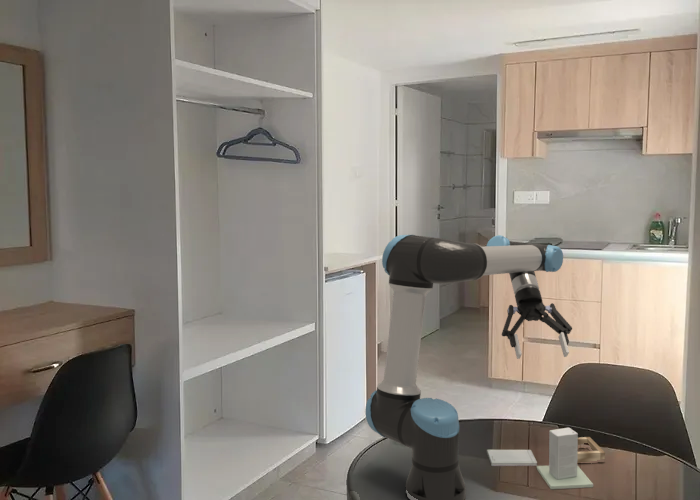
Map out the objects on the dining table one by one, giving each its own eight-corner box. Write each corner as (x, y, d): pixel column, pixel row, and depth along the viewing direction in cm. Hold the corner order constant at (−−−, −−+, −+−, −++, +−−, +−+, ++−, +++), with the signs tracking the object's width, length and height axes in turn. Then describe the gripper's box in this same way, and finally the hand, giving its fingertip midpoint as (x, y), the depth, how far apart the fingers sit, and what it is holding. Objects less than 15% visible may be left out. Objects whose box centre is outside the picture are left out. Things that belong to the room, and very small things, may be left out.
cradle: (568, 464, 180) (569, 454, 180) (555, 448, 190) (555, 438, 190) (604, 462, 181) (604, 452, 180) (589, 446, 191) (589, 436, 190)
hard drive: (491, 462, 181) (537, 461, 180) (486, 448, 189) (530, 448, 188) (491, 467, 181) (537, 467, 180) (486, 454, 189) (530, 454, 188)
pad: (550, 489, 168) (550, 486, 167) (536, 468, 178) (536, 466, 178) (593, 487, 168) (593, 484, 168) (576, 466, 179) (576, 464, 179)
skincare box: (568, 469, 176) (569, 426, 174) (577, 476, 172) (578, 433, 170) (547, 472, 174) (548, 429, 173) (556, 480, 170) (557, 436, 169)
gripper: (564, 297, 203) (582, 359, 190) (483, 300, 202) (496, 363, 189) (571, 284, 197) (590, 347, 184) (488, 287, 196) (502, 351, 183)
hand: (543, 355), depth 187 cm, fingers open, 13 cm apart
